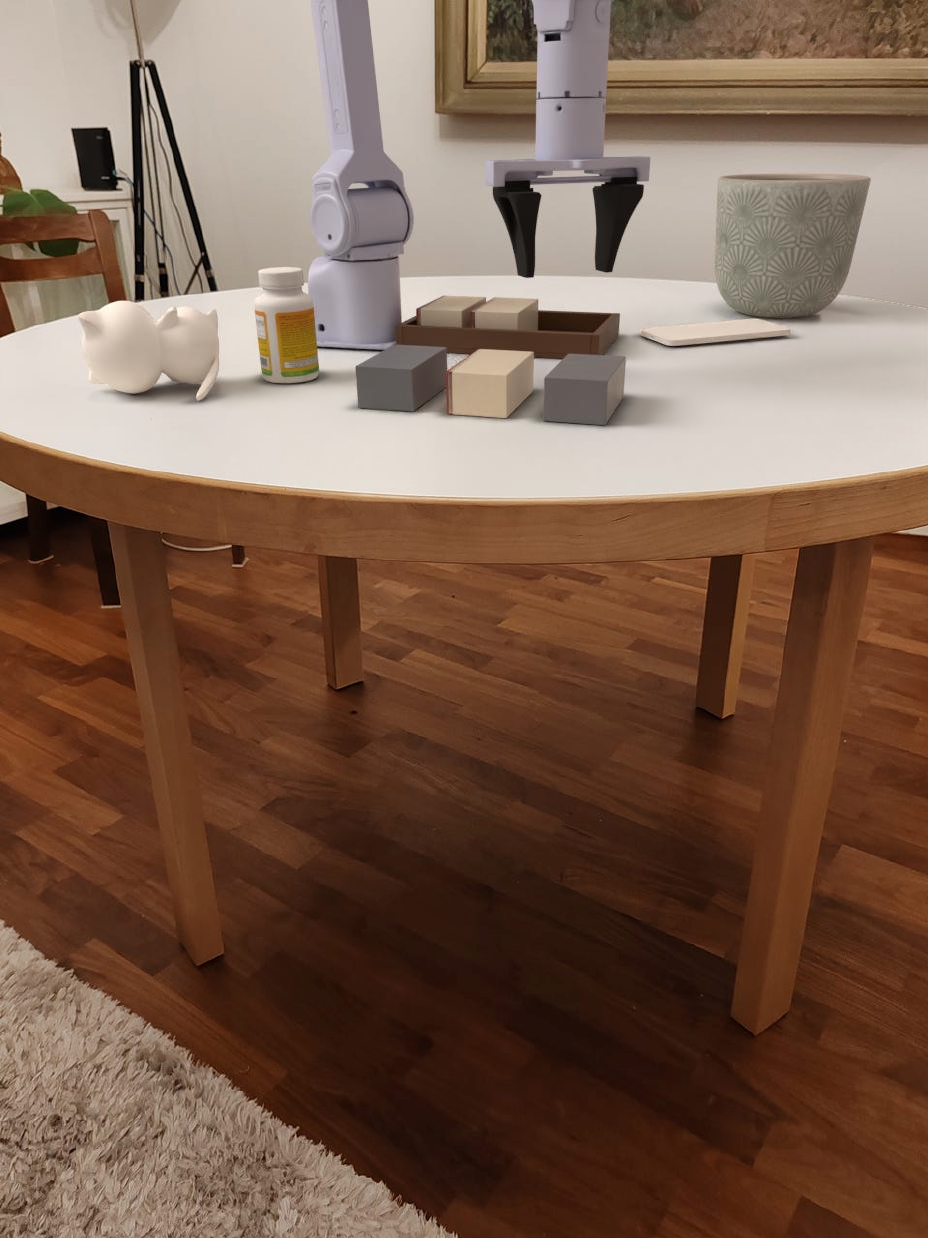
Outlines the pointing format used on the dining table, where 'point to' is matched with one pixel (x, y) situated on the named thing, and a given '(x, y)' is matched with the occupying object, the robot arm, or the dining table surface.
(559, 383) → the grey box
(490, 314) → the ivory book
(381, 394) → the gray rectangular block
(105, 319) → the cat figurine
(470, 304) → the beige book
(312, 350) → the supplement bottle
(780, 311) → the planter
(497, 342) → the book tray
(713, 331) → the smartphone
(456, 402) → the beige rectangular block
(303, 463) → the dining table surface
